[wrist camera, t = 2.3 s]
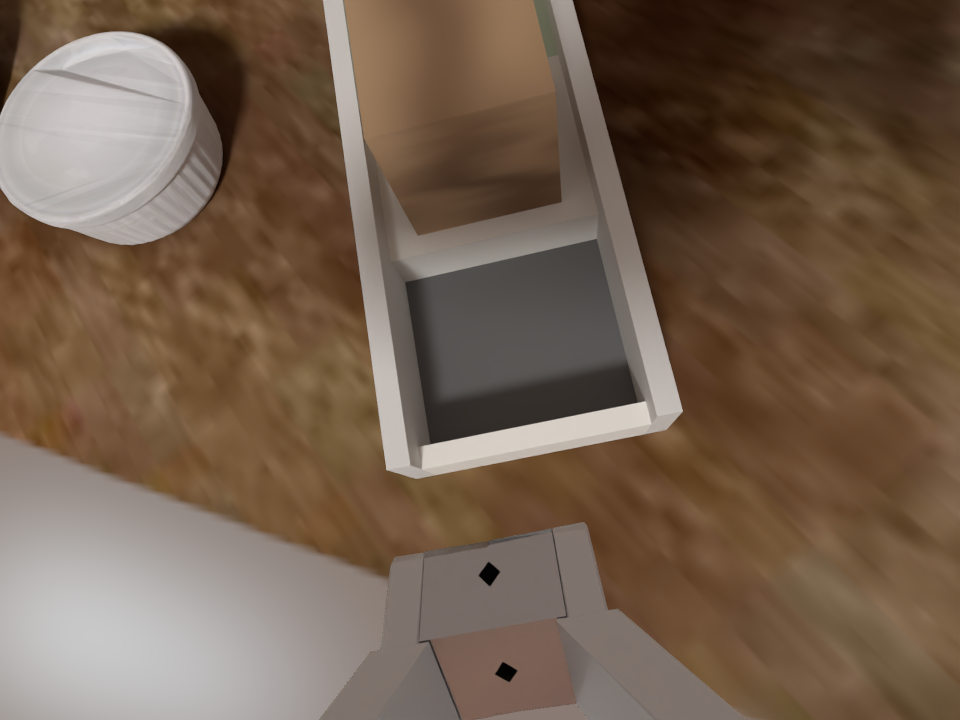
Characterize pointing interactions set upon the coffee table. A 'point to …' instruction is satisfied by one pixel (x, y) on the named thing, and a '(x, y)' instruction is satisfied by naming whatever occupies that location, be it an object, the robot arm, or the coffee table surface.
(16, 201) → the ramekin
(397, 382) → the track
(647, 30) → the coffee table surface
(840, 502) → the coffee table surface
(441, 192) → the walnut block
